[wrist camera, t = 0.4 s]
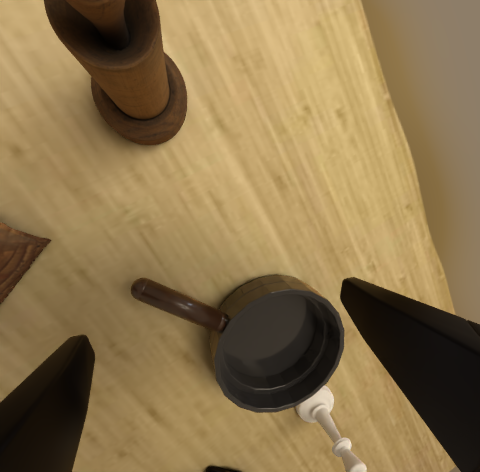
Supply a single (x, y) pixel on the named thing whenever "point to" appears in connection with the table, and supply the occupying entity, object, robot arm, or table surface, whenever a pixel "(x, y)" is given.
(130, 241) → the table surface
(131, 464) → the table surface
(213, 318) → the pan handle
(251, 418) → the table surface
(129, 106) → the mortar and pestle
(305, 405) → the chess piece
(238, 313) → the pan
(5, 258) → the bird sculpture
